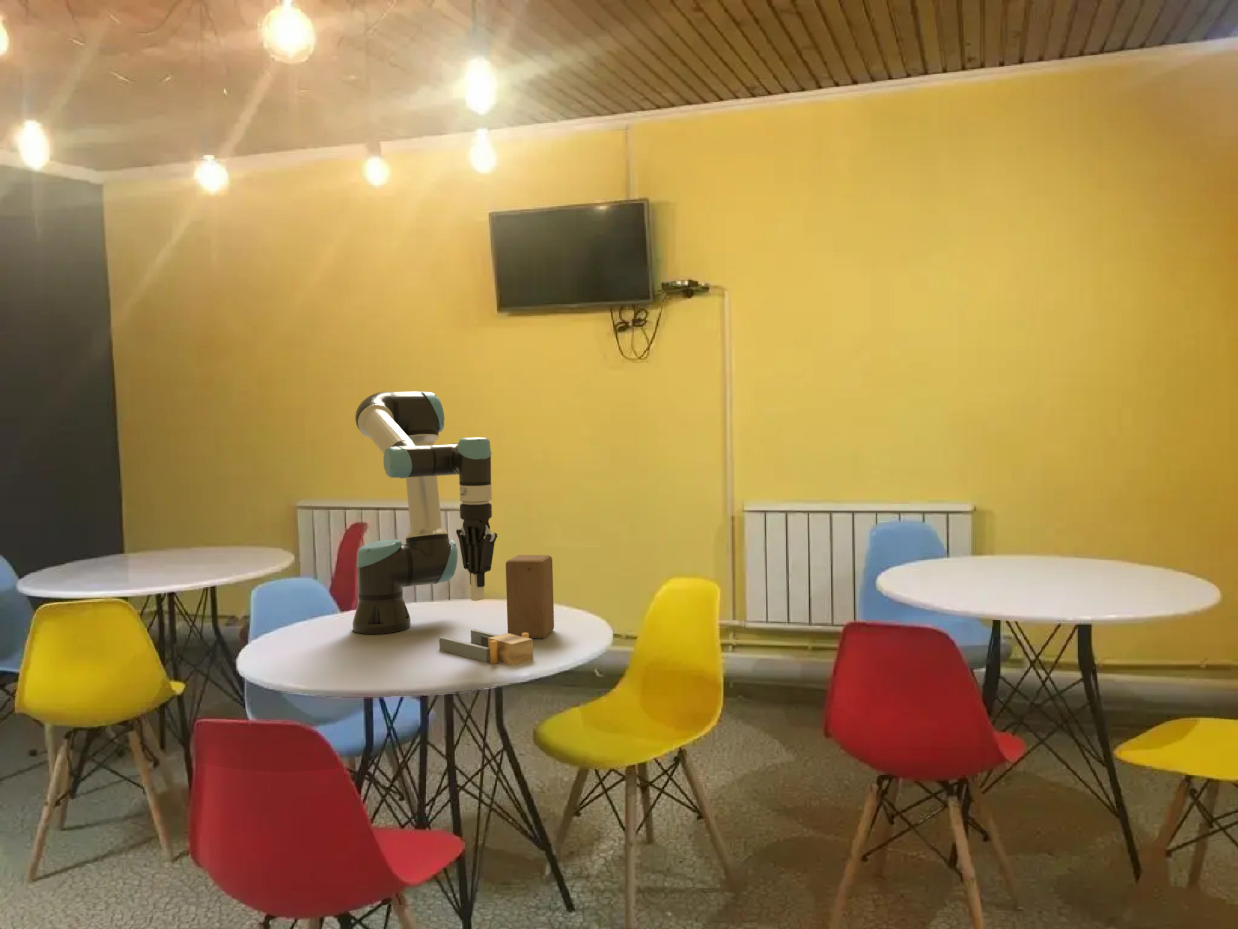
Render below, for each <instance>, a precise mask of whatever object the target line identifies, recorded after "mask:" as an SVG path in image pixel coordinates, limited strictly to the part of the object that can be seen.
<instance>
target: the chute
mask: <svg viewBox="0 0 1238 929" xmlns="http://www.w3.org/2000/svg"><path fill="white" fill-rule="evenodd" d="M498 635H499V634H496V633H492V632H488V631H484V630H478V629H476V628H475V629H471V630H470V642H466V641H462V640H458V639H454V638H450V637H445V636H441V637H439V638H438V642H439V650H440V651H442V652H447V653H450V654H453V655H454V654H455V655H459V656H463V657H464V658H465V657H466V658H470V659H474V660H477V661H481V662H485V663H489V662H490V664H491V665H495V664H498V663H499V661H498V658H497V641H495V640H494V641H490V648H488V638H490V637H494V636H498ZM522 637H526V638H529V633H522Z"/></svg>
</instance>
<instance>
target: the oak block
mask: <svg viewBox="0 0 1238 929" xmlns="http://www.w3.org/2000/svg"><path fill="white" fill-rule="evenodd" d="M497 635H498V636H494V637H490V638H488V648H490V641H494V640H495V641H497V658H498V662H501V663H503V664H508V665H510V666H515V665H518V664H522V663H526V662H529V661H533V660H534V649H533V648H534V647H533V638H526V637H522V636H518V635H513V634H509V633H508V632H507V633H504V634H497Z"/></svg>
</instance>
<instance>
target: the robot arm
mask: <svg viewBox="0 0 1238 929" xmlns="http://www.w3.org/2000/svg"><path fill="white" fill-rule="evenodd" d="M354 417H355V425H356V427H357V429H358V430H359V431H360V433H361V434H362V435H363V436H364V437H366V438H368V439H371V440H372V442H373V443H374V444H375V445H376V446H377V448H379V450H380V451H381V453H382V454H383V461H382V462H383V468H384V470H385V474H386V476H387V477H389V478H392V479H393V478H394V479H395V478H397V479H398V478H400V479H405V483H406V495H407V506H408V517H409V518H408V519H409V528H410V531H409V533H408V534H407V535H406V536H405V543H403V544H402V541H401V540H400V539H395V538H393V539H384V540H377V541H373V542H370V543H367V544H364V545H362V546H361V547H359V548H358V550H357V554H356V567H357V594H358V602H357V606H356V609H355V613H354V616H353V620H352V631H353V632H354V633H356V634H357V633H358V634H362V635H363V634H365V635H381V634H391V633H396V632H397V633H398V632H402V631H404V630H407V629H410V627H411V625H412V624H411V615H410V613H409V611H408V608H407V606H406V603H405V600H404V593H403V590H404V588H405V587H406V588H407V587H415V586H423V585H424V586H425V585H432V584H433V585H437V584H441V583H446V582H449V581H450V580H451V579H452V578H453V577H454V575H455V573H456V570H457V567H458V557H459V556H458V547H457V543H456V542H455V540H453V539H450V538H449V533H448V532H447V531H446V530H445V529H444V527H443V526H442V525H443V523H442V515H441V514H442V513H441V506H440V505H441V504H440V494H439V485H438V484H439V483H438V476H455V475H457V476H458V478H459V479H458V480H459V482H458V483H459V484H458V485H459V501H460V502H461V503H460V505H459V517H460V519H461V520H463V522H462V527H460V528H456V529H455V530H456V531H455V532H456V535H457V539H458V542H459V547H460V553H461V560H462V566H463V568H464V569H465V570H467V571H468V573H469V584H470V594H471V595H470V598H471V601H472V602H473V601H474V602H479V601H482V600H485V585H486V583H485V582H486V579H485V578H486V577H485V574H486V573H487V572H490V571H492V570H491V569H492V564H493V555H494V548H495V542H496V540H497V538H498V534H497V532H493V531H492V530H491V525H490V523H489V520H490V519H491V518H492V517H493V510H492V509H493V508H492V507H493V506H492V505H493V504H492V503H491V501H492V499H493V497H492V496H493V495H492V491H493V490H492V451H491V441H490V439H489V438H487V437H481V436H480V437H479V436H478V437H477V436H476V437H475V436H473V437H471V436H470V437H461V438H460V439H459V441H458V442H457V443H453V442H452V443H449V444H435V443H436V441H437V440H438V439H439V433H441V432H443V430H444V428H445V413H444V408H443V404H442V402H441V400H440V398H439V397H438V396H437V395H436V394H435V393H434V392H431V391H421V390H418V391H380V392H376V393H375V392H374V393H373V394H371V395H368V396H367V397H366V398H364V399H363V400H362V401H361V402H360V404H359V405H358V407H357V408H356V410H355V415H354Z"/></svg>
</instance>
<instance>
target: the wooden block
mask: <svg viewBox="0 0 1238 929" xmlns="http://www.w3.org/2000/svg"><path fill="white" fill-rule="evenodd" d="M553 568H554V567H553V557H552V556H551V555H549V554H547V555H545V554H536V555H535V554H519V555H518V554H517V555H516V556H514V557H512V558H510V559H507V560H506V562H505V584H506V586H505V587H506V617H507V618H506V619H507V622H506V624H507V633H509V634H513V635H518V636H522V633H529V638H530V639H540V640H541V639H544V638H547V636H548V635H549V634H550V633H552V632H553V631H554V629H555V612H554V611H555V609H554V578H553V577H554V575H553V574H554V573H553V570H554V569H553Z"/></svg>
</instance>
